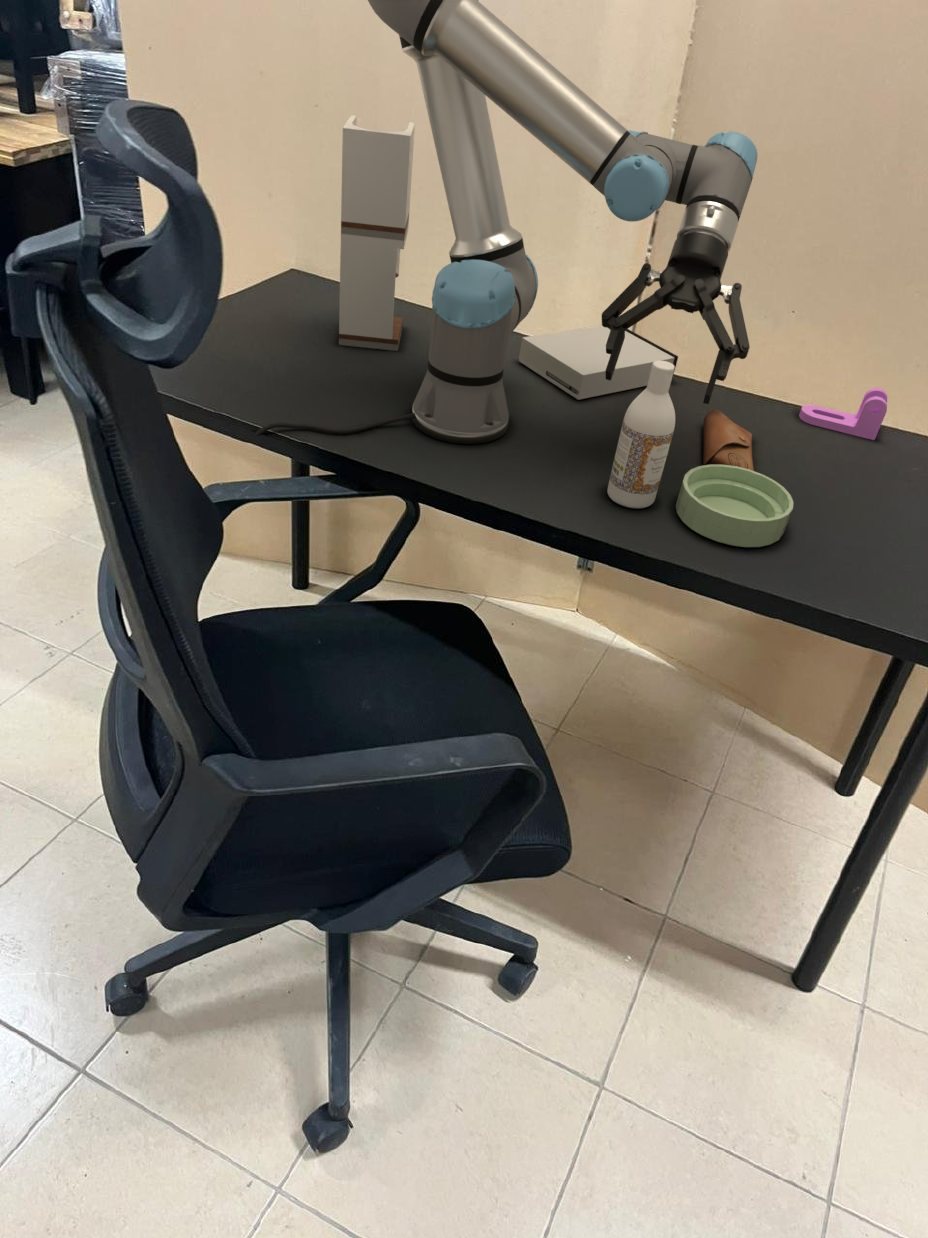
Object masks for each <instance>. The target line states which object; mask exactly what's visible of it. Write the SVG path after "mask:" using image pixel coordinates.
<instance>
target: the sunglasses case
mask: <svg viewBox="0 0 928 1238" xmlns="http://www.w3.org/2000/svg"><path fill="white" fill-rule="evenodd" d="M702 423H703V427H702V428H703V429H702V430H703V433H702V434H703V441H702V442H703V447H702V448H703V453H702V454H703V455H702V456H703V457H702V459H703V460H702V466H704V465H730V466H737V467H741V468H745V469H749V470H752V471H755V468H754V459H753V443H752V442H753V434H752V433H751V432H750V431H749V430H747V429H745V428H744V427H742V426H740V425H738V424H737V423H735V422H733V421H732V420H731V419H730V418H729V417H728V416H726V414H724V413H723V412H721V411H720V410H718V409H712V410H711V411H709V412H707V414H706V415H705V416H704V418H703V421H702Z"/></svg>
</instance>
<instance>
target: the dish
mask: <svg viewBox="0 0 928 1238" xmlns="http://www.w3.org/2000/svg"><path fill="white" fill-rule="evenodd" d="M675 503H676V504H675V510H676V514H677V515H678V517H679V519H680V520H681V521H682V523H683V524H685V525H686V526H687V527H688V528H689V529H690V530H692V531H694V532H696V534H699V535H700V536H703V537H704V538H708V539H710V540H712V541H715V542H718V543H722V544H725V545H728V546H734V547H740V548H741V547H742V548H762V547H765V546H769V545H770V546H771V545H773V544H774V543H776V542H778V541H779V540H780V539H781V538H782V536H783V535H784V533H785V530H786V528H787V526H788V523H789V520H790V518H791V516H792V512H793V510H794V504H795V502H794V499H793V497H792V495H791V494H790V493H789V491H788V490H787V489H786V488H785V487H784V486H783V485H782V484H780V483H779V482H777V481H776V480H774V479H772V478H771V477H769V476H767V475H765V474H763V473H760V472H757V471H755V470H754V471H752V470H749V469H745V468H741V467H737V466H730V465H704V466H703V465H699V466H695V467H693V468H691V469H690V470H688V471H687V472H686V473H685V474H684V476H683V479H682V483H681V485H680V490H679V493H678V496H677V501H676V502H675Z"/></svg>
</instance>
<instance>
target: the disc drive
mask: <svg viewBox="0 0 928 1238" xmlns="http://www.w3.org/2000/svg"><path fill="white" fill-rule="evenodd" d="M610 331H611V330H610V329H609V328H607V327H603V326H602V324H600V325H593V326H588V327H581V328H575V329H568V330H561V331H555V332H549V333H548V332H547V333H542V334H535V335H528V336H523V337H521V342H520V349H519V355H518V362H519V363H520V364H522V365H524V366H525V367H527V368H528V369H529V370H532V371H533V372H535V373H536V374H538V375H539V376H541V377H542V378H543V379H545V380H547V381H549V382H550V383H552V384H553V385H555V386H556V387H558V388H559V389H561V390H562V391H563V392H565V393H567V394H569V395H570V396H571V397H573V398H575V399H576V400H578V401H579V400H584V399H589V398H594V397H598V396H603V395H608V394H613V393H618V392H622V391H627V390H632V389H637V388H641V387H642V388H643V387H647V384H648V380H649V376H650V372H651V368H652V364H653V362H655V361H667V362H670V363H672V364H673V365H674V367H675V369H674V373H673V377H672V380H671V383H672V382H673V379H674V375H675V372H676V368H677V363H678V360H679V355H676V354H675V353H673V352H671V351H669V350H667V349H666V348H663V347H662V346H660V345H658V344H657V343H654V342H652V341H651V340H649V339H647V338H645V337H643V336H641V335H639V334H638V333H636V332H634V331H633V330H630V329H629V328H628V329H626V330H625V339H624V342H623V345H622V348H621V351H620V354H619V357H618V360H617V363H616V367H615V370H614V373H613V376H612V379H611V381H610V380H606V373H605V371H606V368H607V365H608V362H609V359H610V355H611V354H607V353H606V343H607V340H608V337H609V334H610Z"/></svg>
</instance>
